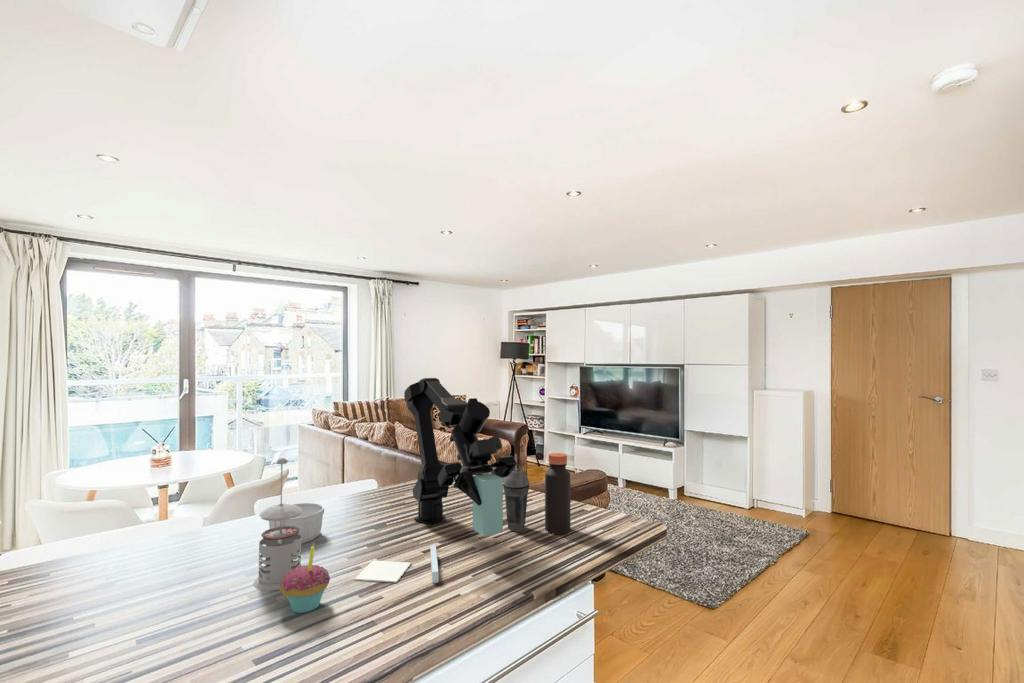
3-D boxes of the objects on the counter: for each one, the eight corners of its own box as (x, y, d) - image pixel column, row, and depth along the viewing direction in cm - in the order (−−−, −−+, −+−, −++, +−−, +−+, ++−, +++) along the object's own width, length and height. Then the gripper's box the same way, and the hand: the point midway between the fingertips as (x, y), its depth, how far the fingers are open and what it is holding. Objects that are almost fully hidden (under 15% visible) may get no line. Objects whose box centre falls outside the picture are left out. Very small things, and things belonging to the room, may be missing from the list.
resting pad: (372, 561, 108) (372, 560, 108) (411, 564, 107) (411, 562, 107) (354, 580, 99) (354, 578, 99) (396, 582, 98) (396, 581, 98)
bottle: (571, 535, 125) (571, 457, 126) (545, 534, 125) (545, 457, 126) (569, 525, 132) (569, 452, 132) (544, 525, 132) (544, 452, 133)
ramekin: (254, 543, 119) (255, 514, 120) (296, 525, 132) (297, 500, 132) (295, 551, 114) (295, 521, 115) (335, 532, 127) (335, 505, 127)
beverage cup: (530, 524, 133) (530, 451, 134) (528, 533, 126) (528, 456, 127) (504, 523, 134) (504, 450, 135) (501, 532, 127) (501, 456, 127)
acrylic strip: (430, 555, 112) (430, 545, 112) (435, 554, 112) (435, 545, 112) (432, 582, 98) (432, 572, 98) (438, 582, 98) (438, 571, 99)
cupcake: (339, 601, 91) (340, 536, 91) (302, 623, 83) (303, 553, 84) (306, 591, 95) (307, 529, 95) (268, 612, 87) (269, 545, 87)
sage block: (472, 529, 110) (472, 476, 110) (491, 525, 113) (491, 473, 113) (483, 536, 106) (483, 481, 106) (502, 531, 109) (502, 478, 109)
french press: (252, 595, 93) (255, 464, 94) (253, 571, 103) (255, 454, 104) (307, 584, 98) (309, 460, 99) (303, 562, 108) (305, 450, 109)
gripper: (443, 428, 108) (465, 489, 99) (513, 422, 118) (539, 477, 109) (429, 457, 115) (448, 517, 105) (496, 449, 125) (519, 503, 115)
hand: (490, 502), depth 108 cm, fingers closed on sage block, 5 cm apart
